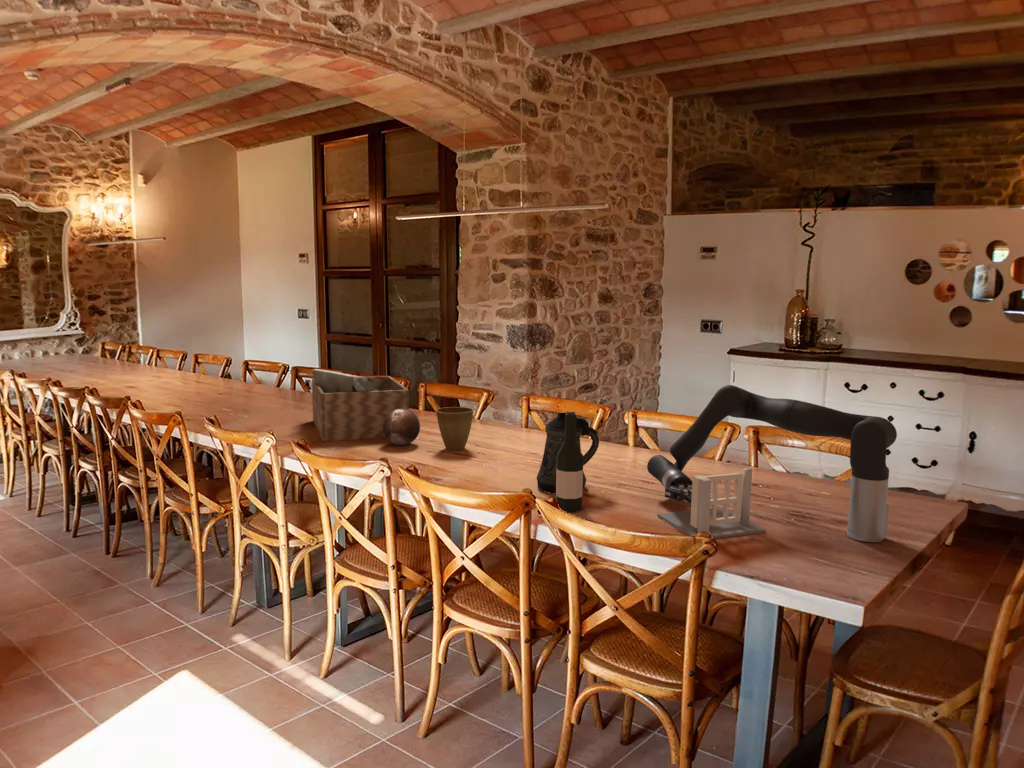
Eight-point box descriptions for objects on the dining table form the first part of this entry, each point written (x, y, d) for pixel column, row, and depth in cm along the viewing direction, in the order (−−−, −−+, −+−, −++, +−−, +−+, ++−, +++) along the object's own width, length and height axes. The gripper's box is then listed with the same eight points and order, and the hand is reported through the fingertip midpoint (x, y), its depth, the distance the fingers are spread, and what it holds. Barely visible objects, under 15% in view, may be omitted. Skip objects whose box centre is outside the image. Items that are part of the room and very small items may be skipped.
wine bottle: (578, 513, 233) (580, 415, 228) (551, 510, 236) (553, 412, 231) (585, 506, 240) (588, 410, 236) (559, 503, 243) (561, 408, 239)
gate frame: (721, 509, 238) (724, 455, 236) (765, 532, 218) (769, 473, 216) (657, 516, 231) (659, 460, 229) (697, 540, 211) (700, 479, 209)
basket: (418, 428, 349) (415, 366, 346) (361, 438, 327) (358, 373, 324) (364, 420, 377) (361, 363, 373) (308, 430, 354) (304, 369, 351)
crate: (390, 416, 379) (389, 375, 376) (409, 436, 336) (408, 390, 334) (313, 420, 367) (311, 378, 364) (322, 441, 325) (321, 393, 322)
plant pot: (477, 445, 320) (477, 407, 317) (467, 454, 305) (467, 413, 303) (442, 443, 323) (442, 405, 321) (431, 451, 309) (431, 411, 306)
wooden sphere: (380, 448, 313) (379, 411, 310) (386, 440, 328) (385, 405, 325) (418, 449, 313) (417, 412, 311) (421, 440, 328) (421, 405, 325)
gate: (735, 519, 223) (737, 471, 221) (741, 522, 220) (744, 474, 218) (690, 524, 218) (692, 476, 216) (696, 528, 215) (698, 478, 213)
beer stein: (527, 484, 264) (528, 411, 260) (575, 477, 273) (576, 407, 269) (553, 497, 249) (555, 420, 246) (603, 489, 259) (605, 415, 255)
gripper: (656, 472, 233) (672, 489, 216) (699, 472, 234) (719, 488, 217) (655, 496, 235) (671, 515, 217) (698, 496, 235) (717, 514, 218)
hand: (695, 501), depth 217 cm, fingers closed
